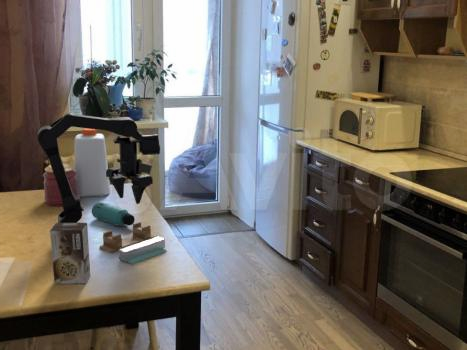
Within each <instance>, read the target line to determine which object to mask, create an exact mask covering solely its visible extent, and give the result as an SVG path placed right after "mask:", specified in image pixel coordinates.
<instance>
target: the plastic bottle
mask: <svg viewBox="0 0 467 350" xmlns="http://www.w3.org/2000/svg"><path fill="white" fill-rule="evenodd" d="M81 129H82V130H81V133H79V134H76V136H75V138H74V146H73V147H74V148H73V149H74V155H73V162H74V163H73V167H74V169H73V171H74V172H76V175H75V180H76V181H77V182H76V187H77V195H79V196H80V198H81V197H82V198H83V197H84V198H85V197H90V198H91V197H103V196H107V195H109V193H110V191H111V181H110V180H109V177H106V171H107V169H108V167H109V166H108V158H107V157H108V156H107V149H106V148H107V147H106V139H105V135H104V134H103V133H98V132H97V131H98V130H97V129H88V128H81Z"/></svg>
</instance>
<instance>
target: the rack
mask: <svg viewBox="0 0 467 350" xmlns="http://www.w3.org/2000/svg"><path fill="white" fill-rule="evenodd" d="M153 238H155V236H154V235H152V231H151V225H150V224H148V225H142V222H141V221H138V222H134V223H133V224H132V235H129V236H126V237H122V234H121V233H119V234H113V230H111V229H110V230H107V231H103V233H102V243H103V244H101V245H100V244H99V249H100V250H101V251H104V252H106V253H109V254H113V253H116V252H117V253H118V252H119V250H120V249H123V248H126V247H129V246H132V245H135V244H138V243H141V242H144V241H147V240H150V239H153Z"/></svg>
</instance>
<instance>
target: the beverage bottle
mask: <svg viewBox="0 0 467 350" xmlns="http://www.w3.org/2000/svg"><path fill="white" fill-rule="evenodd" d="M91 215H92V217H93V218H95V219H97V220H100V221H104V222H107V223H111V224H114V225H115V226H118V227H123V226H133V224H134V223H135V220H136V219H135V216H134V215H133V214H131V213H130V212H129V211H128V210H127V209H124V208H120V207H119V206H114V205H111V204H109V203H105V202H102V201H101V202H100V201H97V202H95V204H93V206H92V208H91Z"/></svg>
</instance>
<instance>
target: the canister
mask: <svg viewBox="0 0 467 350" xmlns="http://www.w3.org/2000/svg"><path fill="white" fill-rule="evenodd" d="M63 165H64V168H65V171H66V174H67V177H68V180H69V183H70V186H71V189H72V192H73V193H74V195H75V196H77V187H76V182H77V181H76V180H75V175H76V172H74V166H72V165H71V164H69V163H64V162H63ZM44 171H45V172H44V173H43V174H42V177H43V178H44V181H43V186H44V187H43V188H44V190H43V191H44V201H45V204H46V205H47V206H51V207H52V206H53V207H63V204H62V197H61V194H60V191H59V188H58V185H57V182H56V179H55V176H54V173H53V170H52V167H51V165H50V164H49V165H47V166H46V167H45V168H44Z"/></svg>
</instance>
